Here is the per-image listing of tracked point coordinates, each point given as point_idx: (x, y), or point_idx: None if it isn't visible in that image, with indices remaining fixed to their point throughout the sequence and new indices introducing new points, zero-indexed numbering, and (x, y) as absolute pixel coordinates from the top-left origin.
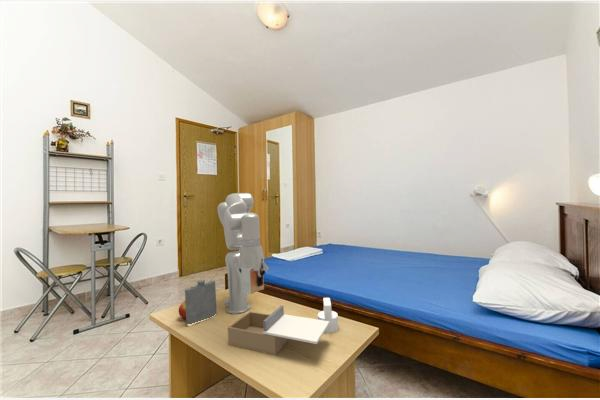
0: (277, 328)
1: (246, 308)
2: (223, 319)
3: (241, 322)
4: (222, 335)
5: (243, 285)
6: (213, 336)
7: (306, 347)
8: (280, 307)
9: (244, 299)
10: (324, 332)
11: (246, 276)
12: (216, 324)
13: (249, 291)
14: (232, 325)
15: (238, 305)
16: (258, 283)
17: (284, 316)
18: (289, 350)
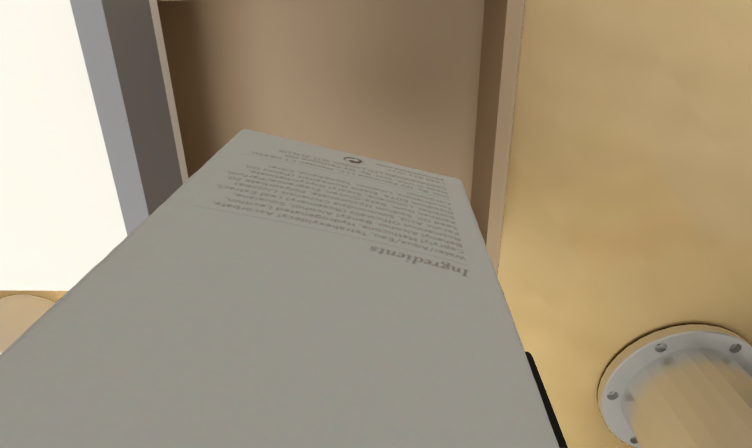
0: (76, 75)
1: (616, 395)
2: (715, 250)
3: (488, 146)
4: (608, 68)
5: (424, 214)
6: (670, 33)
7: None
8: None
9: (654, 439)
10: (26, 295)
11: (262, 322)
12: (734, 179)
13: (261, 144)
14: (506, 26)
15: (673, 383)
16: None
17: None
18: None
